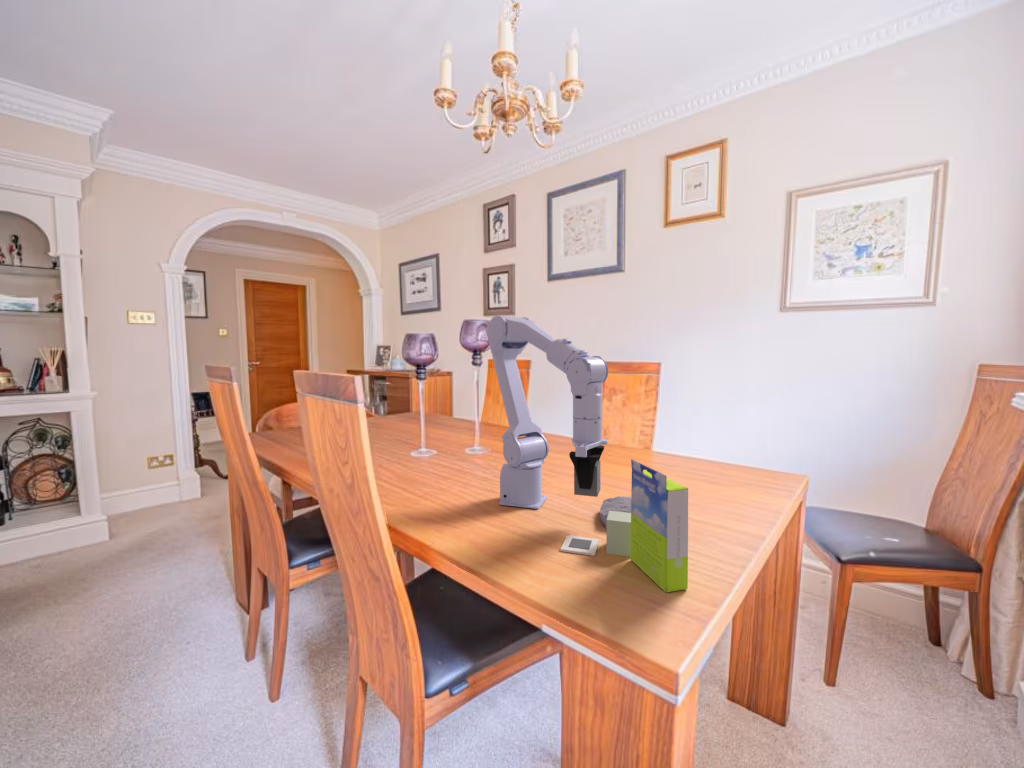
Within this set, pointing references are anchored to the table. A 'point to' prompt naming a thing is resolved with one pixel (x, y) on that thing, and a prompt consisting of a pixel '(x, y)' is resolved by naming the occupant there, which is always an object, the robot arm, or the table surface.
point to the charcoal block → (595, 483)
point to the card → (580, 545)
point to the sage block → (618, 533)
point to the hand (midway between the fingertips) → (587, 484)
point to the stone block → (614, 507)
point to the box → (659, 527)
